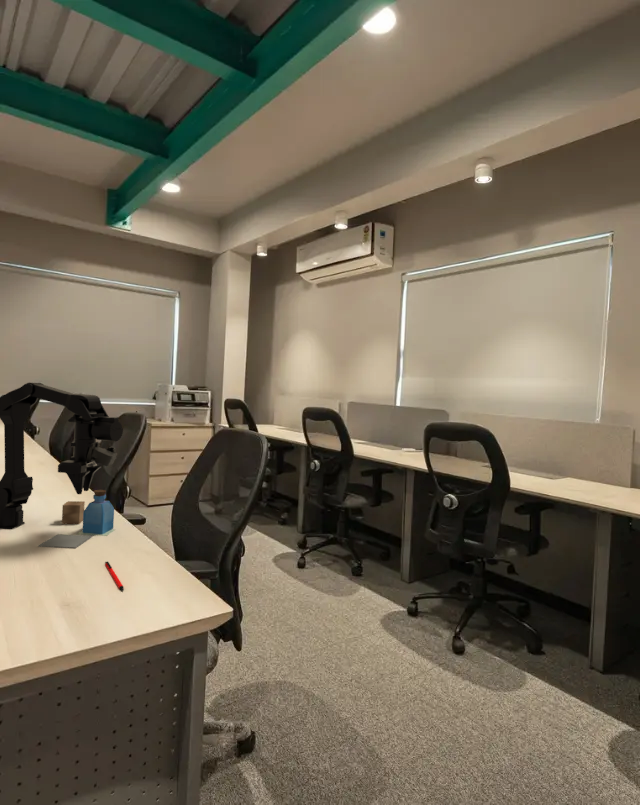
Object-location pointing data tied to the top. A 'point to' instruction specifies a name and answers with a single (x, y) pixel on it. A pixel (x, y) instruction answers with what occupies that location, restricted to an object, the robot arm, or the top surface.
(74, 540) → the slate coaster
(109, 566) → the pen
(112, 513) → the perfume bottle
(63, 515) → the walnut block
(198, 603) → the top surface
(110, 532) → the code mat
